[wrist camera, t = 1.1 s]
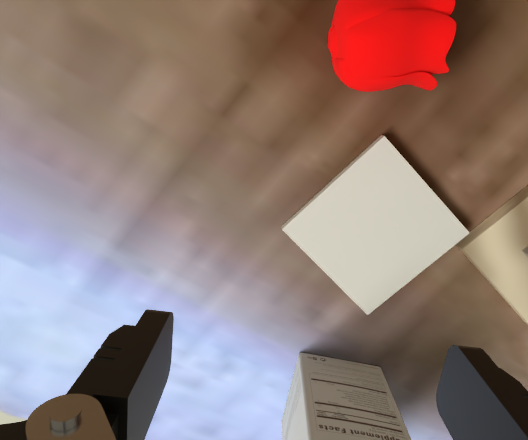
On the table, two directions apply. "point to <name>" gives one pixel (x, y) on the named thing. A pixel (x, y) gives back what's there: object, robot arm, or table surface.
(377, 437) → the supplement box
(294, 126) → the table surface
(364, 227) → the pad
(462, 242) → the post stand
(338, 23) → the flower
